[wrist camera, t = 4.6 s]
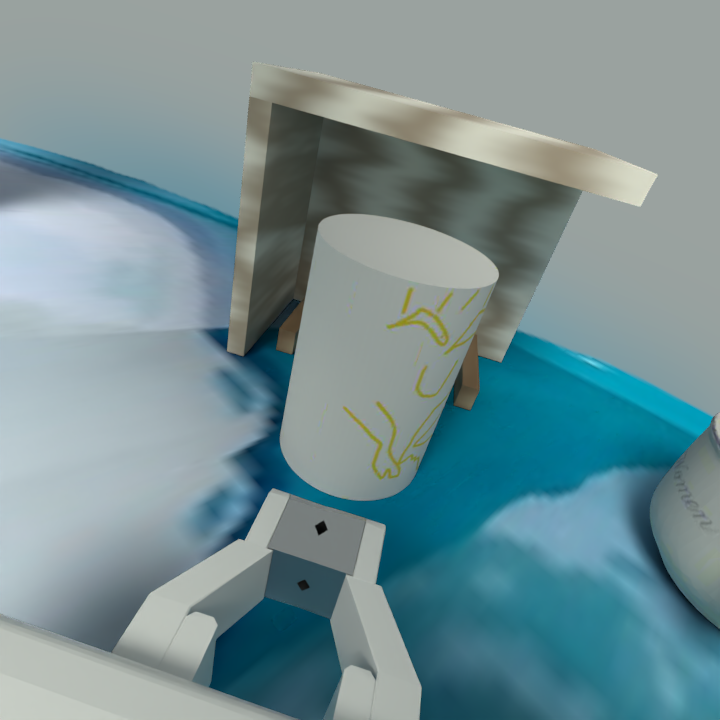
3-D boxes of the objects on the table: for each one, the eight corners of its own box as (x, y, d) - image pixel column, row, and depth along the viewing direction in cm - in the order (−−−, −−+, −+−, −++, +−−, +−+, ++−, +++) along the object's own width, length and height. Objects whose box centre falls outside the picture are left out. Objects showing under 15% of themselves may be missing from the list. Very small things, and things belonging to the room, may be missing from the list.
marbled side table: (227, 351, 31) (252, 61, 22) (286, 288, 41) (319, 72, 32) (511, 440, 30) (657, 174, 21) (500, 354, 40) (595, 149, 31)
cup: (348, 528, 22) (424, 302, 15) (251, 426, 26) (279, 216, 19) (445, 460, 27) (530, 274, 21) (352, 385, 31) (399, 211, 25)
